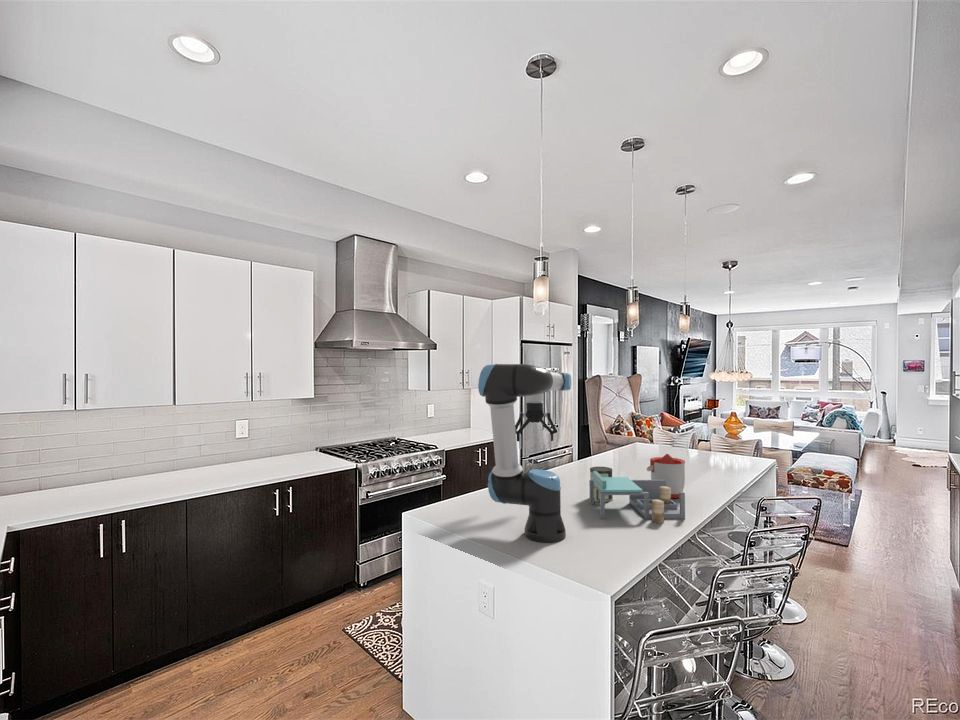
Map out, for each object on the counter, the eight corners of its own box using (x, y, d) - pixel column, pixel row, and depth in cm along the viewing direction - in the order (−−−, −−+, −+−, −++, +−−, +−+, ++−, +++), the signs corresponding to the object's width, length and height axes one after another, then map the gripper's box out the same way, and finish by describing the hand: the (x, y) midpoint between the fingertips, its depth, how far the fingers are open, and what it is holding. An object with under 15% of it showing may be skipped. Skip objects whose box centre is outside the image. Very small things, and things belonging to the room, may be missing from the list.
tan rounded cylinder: (665, 523, 186) (665, 503, 186) (654, 523, 186) (654, 503, 186) (661, 519, 190) (661, 499, 190) (650, 519, 190) (650, 499, 190)
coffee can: (603, 494, 227) (603, 465, 227) (617, 500, 217) (617, 469, 217) (585, 497, 223) (585, 467, 223) (598, 503, 213) (598, 472, 214)
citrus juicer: (643, 490, 233) (642, 450, 233) (679, 491, 232) (678, 450, 232) (651, 499, 218) (651, 456, 218) (690, 500, 216) (689, 457, 216)
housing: (685, 518, 191) (684, 492, 191) (601, 519, 191) (600, 493, 191) (664, 502, 213) (664, 479, 213) (589, 503, 213) (589, 480, 213)
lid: (642, 492, 191) (642, 482, 191) (603, 492, 191) (603, 482, 191) (626, 479, 213) (626, 469, 213) (591, 479, 213) (591, 470, 213)
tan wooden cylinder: (672, 508, 198) (672, 489, 199) (661, 508, 199) (661, 489, 199) (668, 504, 203) (668, 486, 203) (658, 504, 203) (657, 486, 203)
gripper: (560, 401, 220) (560, 446, 219) (506, 401, 219) (507, 447, 219) (563, 402, 212) (563, 449, 212) (508, 402, 211) (508, 450, 211)
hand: (535, 448), depth 215 cm, fingers open, 13 cm apart
